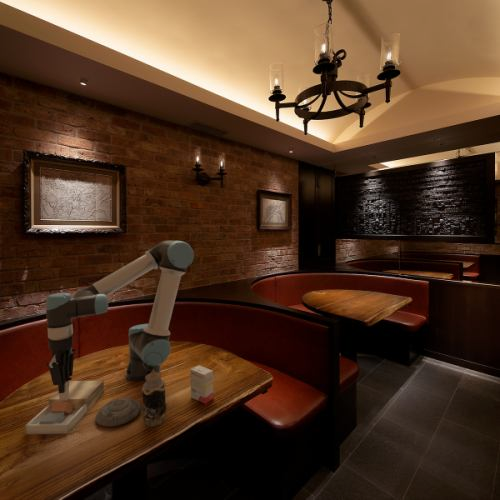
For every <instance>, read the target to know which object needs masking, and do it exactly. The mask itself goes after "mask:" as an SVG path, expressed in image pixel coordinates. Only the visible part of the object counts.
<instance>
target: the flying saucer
mask: <svg viewBox="0 0 500 500" xmlns="http://www.w3.org/2000/svg"><path fill="white" fill-rule="evenodd" d="M141 409H142V405H141V404H140V403H139V401H137V400H136V399H134V398H130V397H122V398H120V397H119V398H116V399H112V400H111V401H109V402H107V403H106V404H105V405H103V406H102V407H101V408H100V409H99V411H98V412H97V414H96V415H95V421H96V423H97V424H98V425H100V426H102V427H108V428H109V427H116V426H122V425H123V424H126V423H128V422H130V421H132V420H134V419H135V418H137V416H138V415H139V414H140V413H141V412H140V411H141Z"/></svg>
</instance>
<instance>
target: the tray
mask: <svg viewBox="0 0 500 500" xmlns="http://www.w3.org/2000/svg"><path fill="white" fill-rule="evenodd" d="M50 411H51V405H49V404H48V405H47V406H45V407H44V408H43V409H42V410H41V411H40V412H38V414H36V415H35V416H34V417H33V418H32V419H30V420H29V421H28V422H27V423H26V424H25V425H24V432H25V435H52V434H53V435H55V434H56V435H58V434H59V435H61V434H63V435H65V434H69V433H70V432H71V431H72V430H73V428H74V427H75V426H76V425H77V424H78V423H79V421H80V420H81V419H82V418H83V417H84V416H85V415H86V413H87V412H88V411H87V404H84V405H83V406H82V407H81V408H80V409H79V410H72V413H71V414H64V421H63V422H62V423H57V424H39V421H40V420H41V419H42V418H44V417H45V416H46V415H47V414H48V413H49V412H50Z"/></svg>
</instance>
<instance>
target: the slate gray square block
mask: <svg viewBox="0 0 500 500" xmlns="http://www.w3.org/2000/svg"><path fill="white" fill-rule="evenodd" d="M63 421H64V412H49V413H48V414H47V415H46V416H45V417H44V418H42V419H41V420H40V421H39V424H57V423H62V422H63Z"/></svg>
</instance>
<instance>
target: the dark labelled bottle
mask: <svg viewBox="0 0 500 500" xmlns="http://www.w3.org/2000/svg"><path fill="white" fill-rule="evenodd" d="M151 353H158V352H151ZM149 354H150V353H149ZM149 354H147V355H149ZM159 354H160V353H159ZM147 355H146V356H147ZM160 355H161V354H160ZM146 356H145V358H146ZM161 356H162V355H161ZM145 358H144V359H145ZM162 362H163V357H162ZM163 363H164V362H163ZM163 363H161V364H160V366H159V367H160V368H161V366H162V365H163ZM143 367H144V360H143ZM159 367H158V368H159ZM144 368H145V367H144ZM158 368H157V369H158ZM145 369H146V368H145ZM157 369H155V370H157ZM146 370H147V369H146ZM148 371H152V372H151V373H150V374H148V375H147V376H146V377H145V379H146V380H145V383H143V387H142V388H141V391H140V392H141V394H142V405H141V410H140V411H141V412H140V413H141V417H142V418H143V420H144V421H145V425H146V426H148V427H155V426H158V425H161V424H162V423H163V422H164V421H165V415H166V414H167V411H168V410H167V409H168V407H167V402H166V387H167V386H166V382H165V381H164V380H163V379H162V376H163V375H162V374H161V373H160V372H159V373H157V372H155V371H154V369H153V370H148Z"/></svg>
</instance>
